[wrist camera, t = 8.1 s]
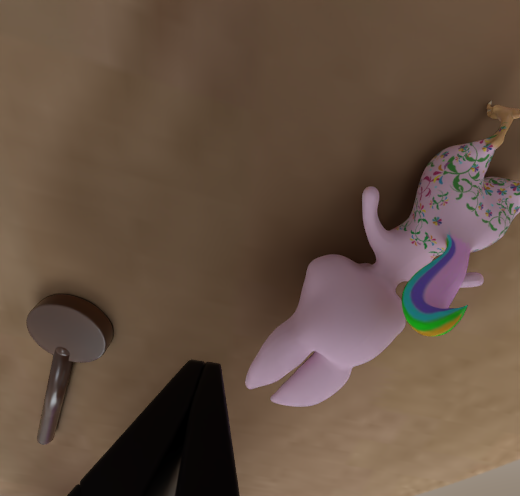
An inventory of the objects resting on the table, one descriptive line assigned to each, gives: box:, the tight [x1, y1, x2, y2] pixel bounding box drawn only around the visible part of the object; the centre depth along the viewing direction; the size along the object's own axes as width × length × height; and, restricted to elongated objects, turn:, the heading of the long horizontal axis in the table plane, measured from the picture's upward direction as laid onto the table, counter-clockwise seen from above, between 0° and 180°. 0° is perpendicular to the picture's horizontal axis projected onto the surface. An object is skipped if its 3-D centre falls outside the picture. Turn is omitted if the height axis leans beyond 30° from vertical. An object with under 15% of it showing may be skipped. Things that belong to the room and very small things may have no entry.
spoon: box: [27, 294, 113, 445], centre depth 21 cm, size 15×4×1 cm, turn 154°
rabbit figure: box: [245, 101, 520, 407], centre depth 12 cm, size 6×6×15 cm
